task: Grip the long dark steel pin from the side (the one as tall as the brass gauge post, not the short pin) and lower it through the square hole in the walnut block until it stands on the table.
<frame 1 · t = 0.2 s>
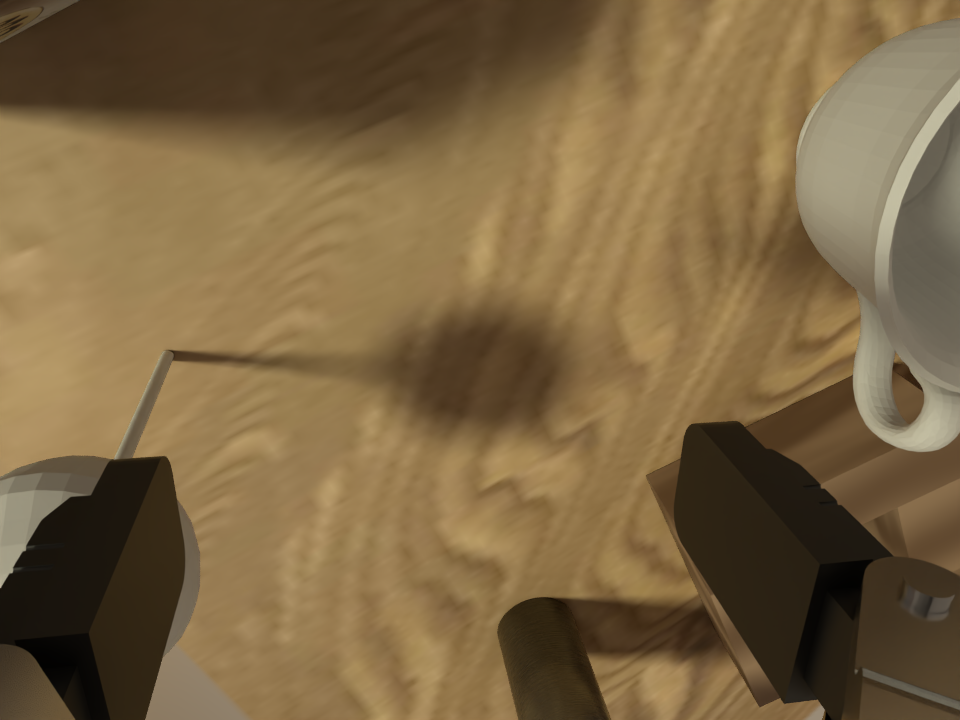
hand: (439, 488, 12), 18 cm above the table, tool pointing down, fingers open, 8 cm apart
lollipop: (168, 353, 29), on the table
long pin: (535, 627, 39), on the table
teacup: (843, 176, 31), on the table
hole block: (790, 506, 38), on the table
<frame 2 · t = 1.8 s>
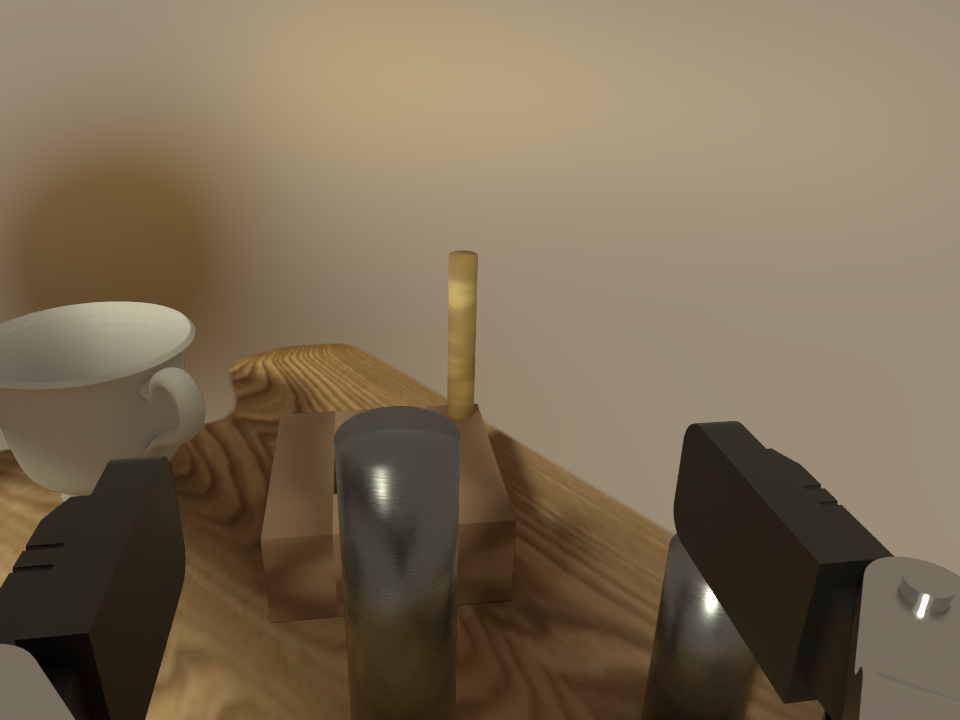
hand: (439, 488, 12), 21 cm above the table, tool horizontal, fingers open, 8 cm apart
teacup: (129, 495, 46), on the table
hole block: (387, 535, 43), on the table
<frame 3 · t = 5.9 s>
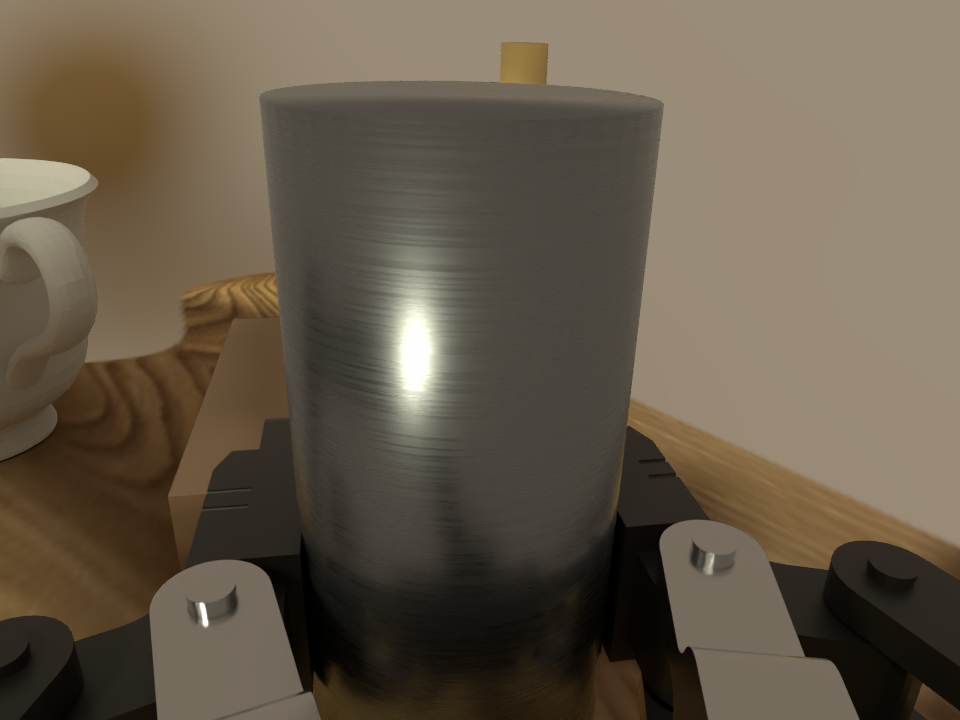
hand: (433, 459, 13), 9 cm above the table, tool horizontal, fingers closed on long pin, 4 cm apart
teacup: (0, 449, 30), on the table
hole block: (402, 505, 27), on the table
when the fingers open (10 cm above the table, at t = 11.6 s): long pin drops 1 cm, resting in hole block.
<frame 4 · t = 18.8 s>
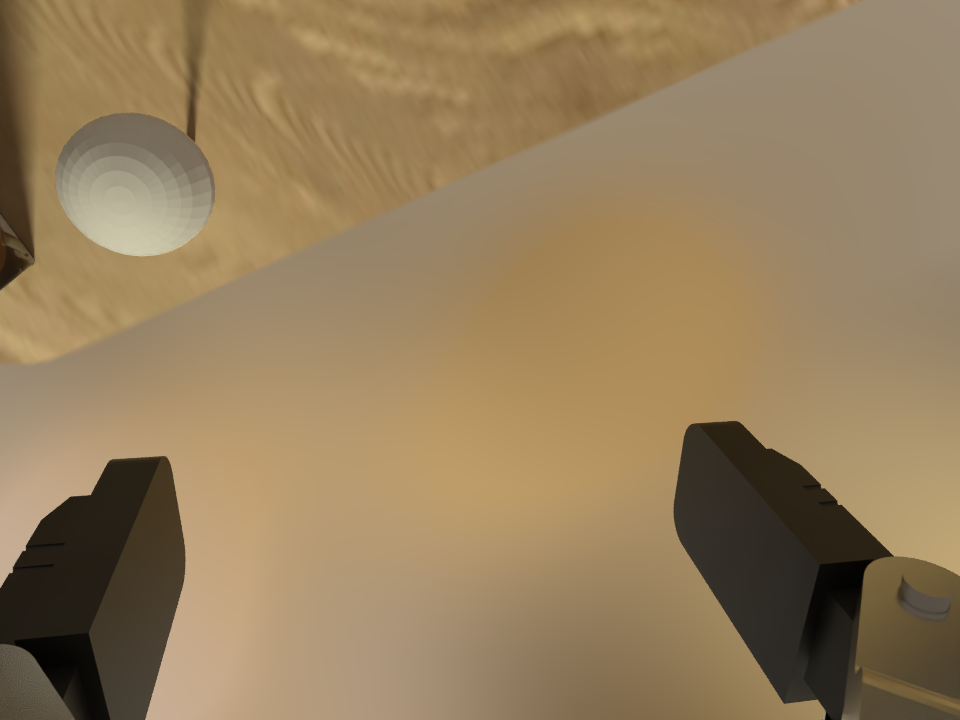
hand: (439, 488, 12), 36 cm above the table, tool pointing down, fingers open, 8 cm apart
lollipop: (191, 142, 43), on the table
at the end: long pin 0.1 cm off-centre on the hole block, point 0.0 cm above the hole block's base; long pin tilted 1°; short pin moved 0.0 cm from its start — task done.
